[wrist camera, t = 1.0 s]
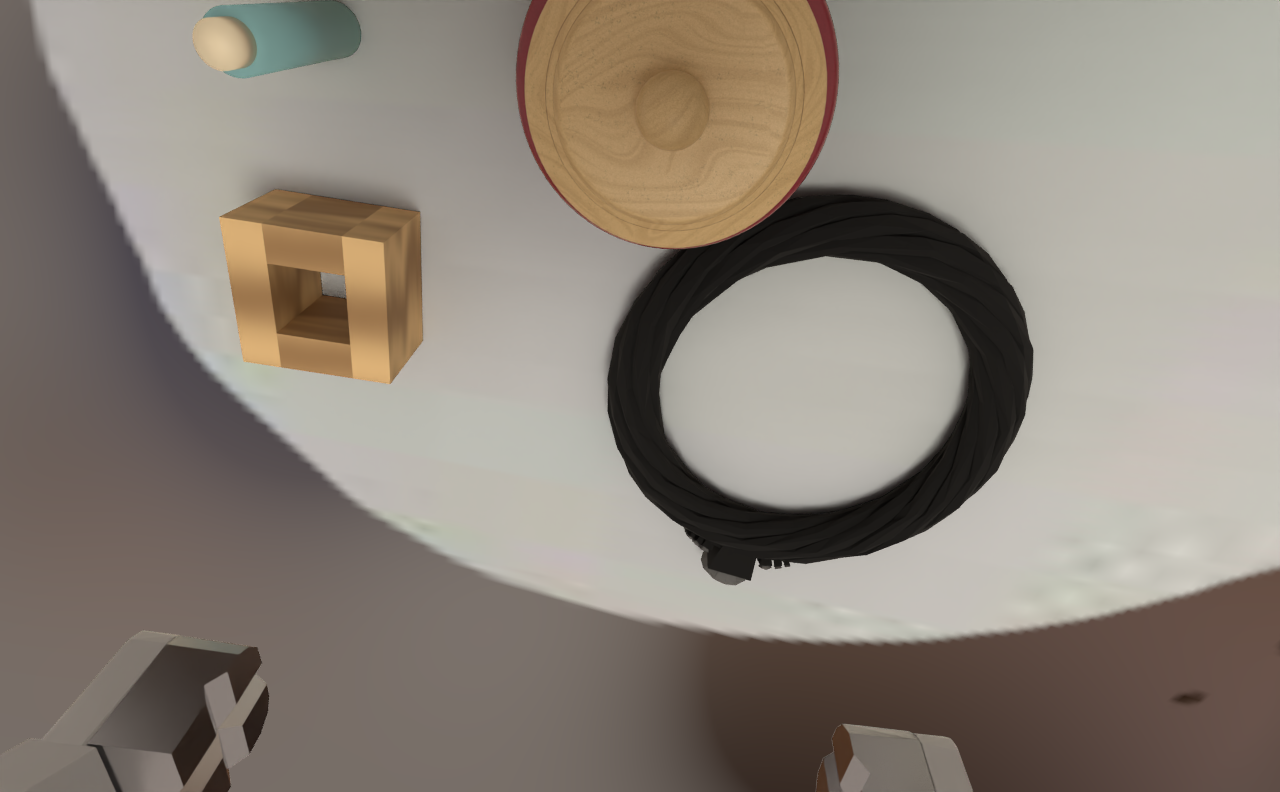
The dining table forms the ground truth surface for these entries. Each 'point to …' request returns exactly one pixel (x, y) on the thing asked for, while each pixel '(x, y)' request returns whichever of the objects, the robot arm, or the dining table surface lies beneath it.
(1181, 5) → the dining table surface
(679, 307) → the cable lock
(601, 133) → the canister
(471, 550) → the dining table surface
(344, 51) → the teal peg
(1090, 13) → the dining table surface
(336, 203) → the wooden square frame
